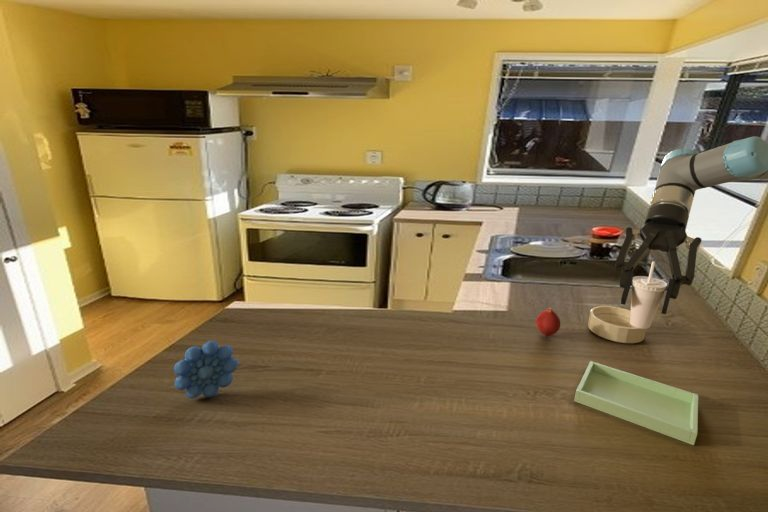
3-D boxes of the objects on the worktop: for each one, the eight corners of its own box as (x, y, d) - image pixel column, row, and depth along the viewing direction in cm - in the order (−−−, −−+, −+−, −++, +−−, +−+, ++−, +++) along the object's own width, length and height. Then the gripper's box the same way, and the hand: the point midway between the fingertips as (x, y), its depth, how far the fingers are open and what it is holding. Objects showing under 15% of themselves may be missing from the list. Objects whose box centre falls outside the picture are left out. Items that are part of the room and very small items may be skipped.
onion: (538, 328, 113) (542, 301, 110) (560, 335, 110) (565, 307, 107) (531, 337, 108) (535, 308, 106) (554, 344, 105) (559, 314, 103)
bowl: (646, 330, 114) (650, 314, 112) (640, 350, 103) (644, 333, 102) (593, 316, 121) (596, 301, 120) (583, 333, 111) (585, 318, 109)
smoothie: (618, 324, 88) (632, 260, 84) (627, 315, 93) (640, 254, 88) (653, 335, 84) (669, 268, 80) (661, 324, 89) (676, 261, 84)
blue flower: (241, 379, 88) (236, 327, 84) (240, 399, 82) (235, 344, 78) (180, 388, 85) (172, 334, 81) (174, 409, 79) (166, 352, 75)
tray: (695, 405, 84) (698, 394, 83) (693, 445, 73) (697, 433, 72) (588, 370, 94) (590, 360, 94) (573, 401, 84) (576, 390, 83)
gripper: (720, 229, 89) (699, 327, 81) (618, 215, 100) (591, 301, 92) (728, 208, 83) (706, 311, 76) (618, 196, 94) (590, 285, 86)
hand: (643, 306), depth 84 cm, fingers closed on smoothie, 6 cm apart
